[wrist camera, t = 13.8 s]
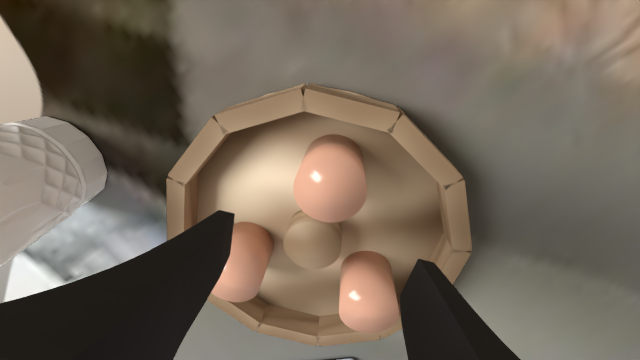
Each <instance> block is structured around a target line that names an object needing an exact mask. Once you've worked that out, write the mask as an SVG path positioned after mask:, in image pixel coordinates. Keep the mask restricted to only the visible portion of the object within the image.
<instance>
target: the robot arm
mask: <svg viewBox="0 0 640 360" xmlns="http://www.w3.org/2000/svg"><path fill="white" fill-rule="evenodd" d="M234 217H235V214H234V213H230V212H226V211H222V210H218V211H216V212H215V213H213V214H211V215H210V216H208V217H207V218H205V219H203V220H202V221H200V222H199V223H197V224H195V225H194V226H192V227H191V228H189V229H187V230H186V231H184V232H182V233H180V234H179V235H177V236H175V237H174V238H172V239H170V240H168V241H166V242H165V243H163V244H161V245H159V246H157V247H155V248H153V249H151V250H150V251H148V252H146V253H144V254H141V255H139V256H137V257H135V258H133V259H131V260H128V261H126V262H124V263H121V264H119V265H117V266H114V267H112V268H110V269H107V270H104V271H101V272H99V273H96V274H93V275H91V276H88V277H85V278H83V279H80V280H77V281H75V282H72V283H69V284H66V285H62V286H59V287H56V288H53V289H50V290H47V291H43V292H40V293H37V294H33V295H30V296H27V297H23V298H19V299H16V300H12V301H8V302H4V303H1V304H0V360H173V358H174V356H175V354H176V352H177V350H178V348H179V346H180V344H181V342H182V341H183V339H184V337H185V335H186V333H187V331H188V330H189V328H190V327H191V325H192V323H193V322H194V320H195V318H196V317H197V315H198V313H199V312H200V310H201V308H202V307H203V305H204V303H205V302H206V300H207V298H208V297H209V295H210V293H211V292H212V290H213V288H214V287H215V285H216V283H217V282H218V280H219V278H220V276H221V274H222V272H223V270H224V267H225V265H226V263H227V261H228V258H229V256H230V252H231V243H232V234H233V225H234ZM400 312H401V323H402V329H403V334H404V339H405V345H406V350H407V355H408V360H520V359H519V358H518V357H517V356H516V355H515V354H514V353H513V352H512V351H511V350H510V349H509V348H508V347H507V346H506V345H505V344H504V343H503V342H502V341H501V340H500V339H499V338H498V336H497V335H496V334H495V333H494V332H493V331H492V330H491V329H490V328H489V327H488V326H487V325H486V323H485V322H484V321H483V320H482V319H481V318H480V317H479V316H478V314H477V313H476V312H475V311H474V310H473V309H472V307H471V306H470V305H469V304H468V303H467V302H466V300H465V299H464V298H463V297H462V296H461V294H460V293H459V292H458V291H457V289H456V288H455V287H454V286H453V285H452V283H451V282H450V281H449V280H448V278H447V277H446V276H445V275H444V274H443V272H442V271H441V270H440V269H439V268H438V267H437V265H436V264H435V263H434V262H430V261H426V260H422V259H418V260H417V262H416V264H415V266H414V268H413V270H412V272H411V274H410V276H409V278H408V280H407V282H406V284H405V286H404V288H403V290H402V292H401V294H400ZM338 360H354V359H352V358H348V359H338Z"/></svg>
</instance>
